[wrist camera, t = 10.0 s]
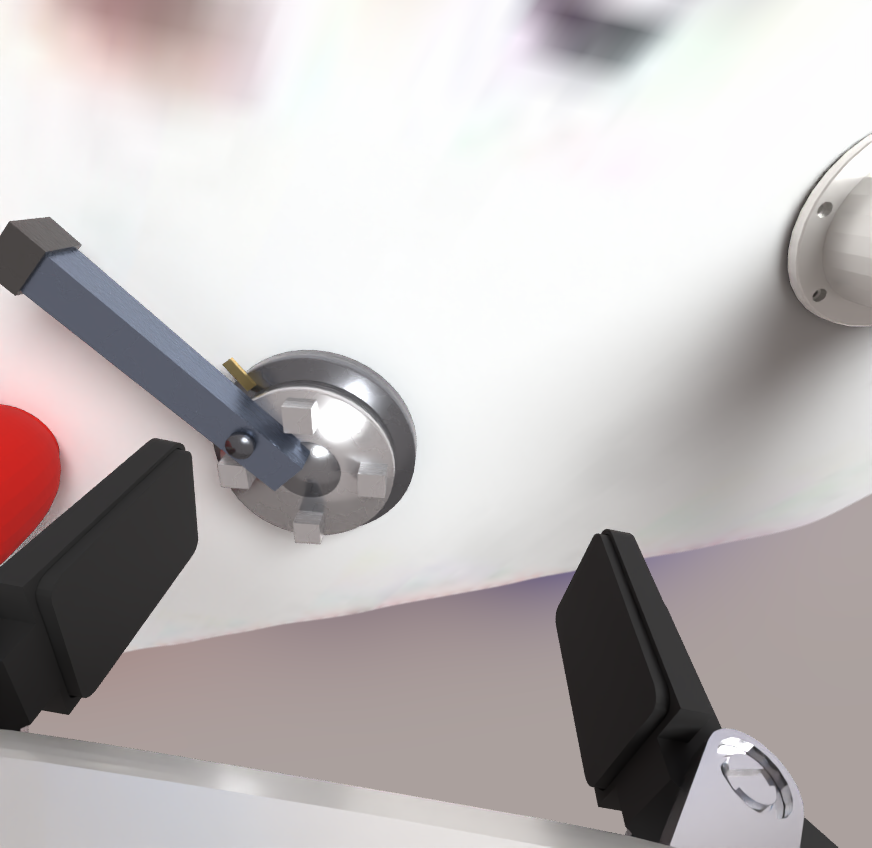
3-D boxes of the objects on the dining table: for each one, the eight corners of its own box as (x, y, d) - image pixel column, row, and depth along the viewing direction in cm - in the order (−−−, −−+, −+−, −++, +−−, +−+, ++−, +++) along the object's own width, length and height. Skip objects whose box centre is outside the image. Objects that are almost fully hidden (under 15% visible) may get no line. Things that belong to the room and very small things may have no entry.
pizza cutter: (112, 156, 26) (46, 153, 22) (429, 463, 36) (428, 502, 32) (10, 302, 31) (-62, 324, 26) (320, 542, 41) (305, 586, 36)
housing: (433, 372, 35) (432, 384, 33) (400, 528, 43) (397, 546, 41) (221, 331, 34) (207, 341, 32) (225, 499, 41) (214, 516, 39)
